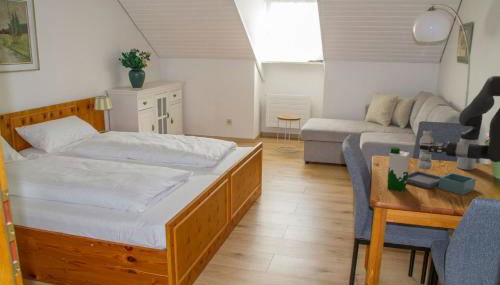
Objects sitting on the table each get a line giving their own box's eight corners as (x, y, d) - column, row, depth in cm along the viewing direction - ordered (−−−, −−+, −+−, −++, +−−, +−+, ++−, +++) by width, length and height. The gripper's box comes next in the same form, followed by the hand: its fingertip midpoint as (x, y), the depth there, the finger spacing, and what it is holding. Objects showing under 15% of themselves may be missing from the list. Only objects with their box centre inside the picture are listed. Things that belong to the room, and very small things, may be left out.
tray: (416, 174, 232) (416, 170, 231) (445, 182, 220) (446, 177, 219) (400, 180, 222) (400, 176, 221) (429, 189, 210) (429, 184, 209)
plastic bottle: (429, 171, 214) (433, 132, 210) (415, 169, 218) (418, 130, 214) (432, 168, 219) (436, 130, 215) (419, 166, 223) (422, 128, 219)
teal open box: (450, 182, 219) (451, 172, 217) (474, 189, 210) (475, 178, 208) (438, 188, 211) (439, 177, 210) (462, 195, 202) (464, 183, 201)
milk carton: (389, 184, 217) (392, 145, 212) (408, 187, 213) (411, 148, 208) (385, 189, 210) (388, 149, 205) (404, 192, 205) (407, 152, 200)
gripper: (459, 139, 214) (424, 135, 222) (456, 145, 202) (419, 141, 210) (458, 153, 216) (422, 149, 224) (455, 160, 204) (418, 156, 212)
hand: (421, 145), depth 217 cm, fingers closed on plastic bottle, 6 cm apart
